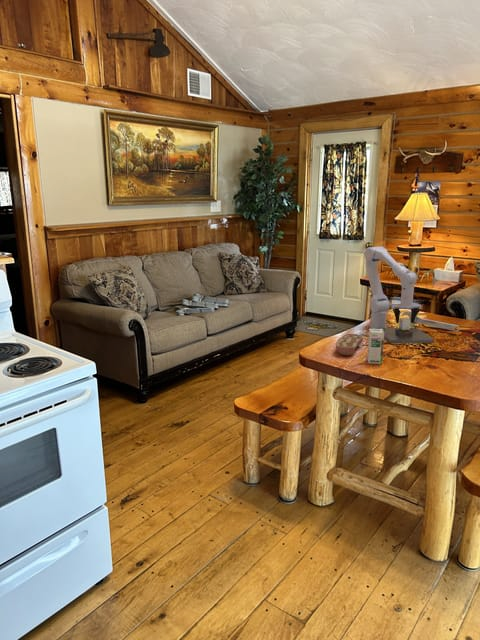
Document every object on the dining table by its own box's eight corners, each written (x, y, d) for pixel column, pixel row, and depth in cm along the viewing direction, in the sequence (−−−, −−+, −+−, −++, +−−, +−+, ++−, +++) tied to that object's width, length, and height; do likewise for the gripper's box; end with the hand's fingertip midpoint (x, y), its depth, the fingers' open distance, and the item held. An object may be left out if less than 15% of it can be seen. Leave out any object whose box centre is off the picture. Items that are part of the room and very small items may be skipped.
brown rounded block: (352, 359, 216) (353, 348, 215) (331, 356, 220) (331, 345, 219) (364, 345, 236) (365, 335, 235) (344, 342, 240) (344, 332, 239)
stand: (375, 330, 259) (375, 324, 258) (415, 330, 260) (416, 323, 259) (390, 343, 238) (390, 336, 237) (434, 342, 239) (434, 335, 238)
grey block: (398, 327, 250) (399, 317, 248) (406, 327, 250) (407, 317, 249) (401, 330, 246) (402, 319, 244) (409, 330, 246) (410, 319, 245)
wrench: (457, 336, 259) (399, 324, 269) (457, 335, 260) (400, 323, 271) (461, 322, 256) (402, 310, 267) (461, 321, 258) (403, 309, 268)
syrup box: (368, 363, 210) (370, 331, 206) (367, 359, 216) (369, 327, 212) (382, 364, 210) (384, 332, 206) (380, 359, 215) (382, 328, 211)
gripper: (395, 298, 239) (393, 325, 243) (424, 298, 240) (422, 324, 244) (390, 295, 246) (388, 321, 250) (418, 294, 247) (416, 320, 250)
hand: (404, 322), depth 247 cm, fingers open, 7 cm apart
